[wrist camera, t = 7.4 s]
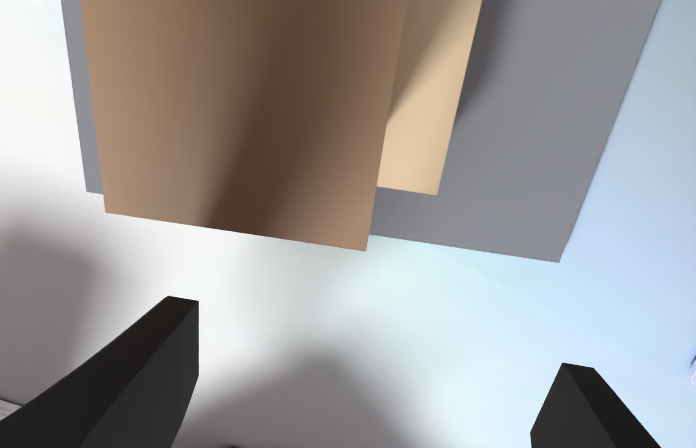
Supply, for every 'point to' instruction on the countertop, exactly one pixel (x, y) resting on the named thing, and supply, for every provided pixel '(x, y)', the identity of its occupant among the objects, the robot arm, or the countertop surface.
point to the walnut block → (244, 111)
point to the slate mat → (492, 125)
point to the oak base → (426, 92)
